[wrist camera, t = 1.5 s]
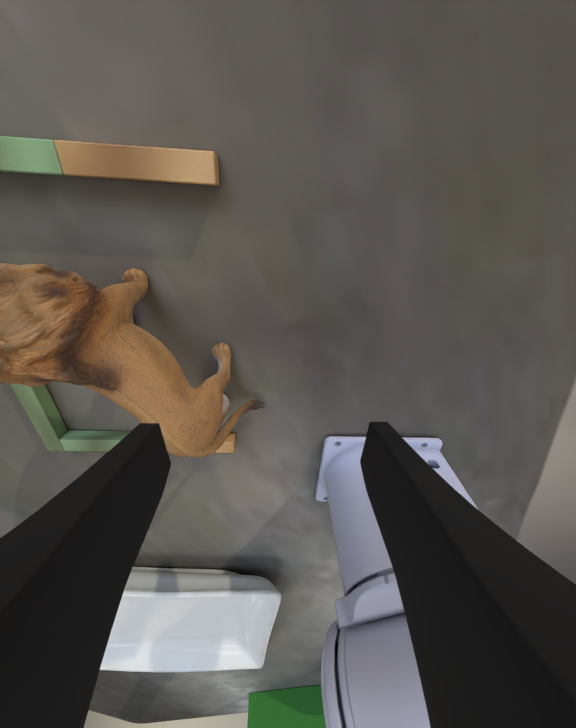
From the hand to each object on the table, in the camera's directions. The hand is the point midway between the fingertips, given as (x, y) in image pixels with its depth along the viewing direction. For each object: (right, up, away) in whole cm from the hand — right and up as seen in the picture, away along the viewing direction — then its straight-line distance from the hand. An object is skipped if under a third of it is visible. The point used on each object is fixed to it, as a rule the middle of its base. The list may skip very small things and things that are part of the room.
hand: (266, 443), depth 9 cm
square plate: (-15, -30, +27) cm, 43 cm away
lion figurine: (-7, +5, +7) cm, 11 cm away
